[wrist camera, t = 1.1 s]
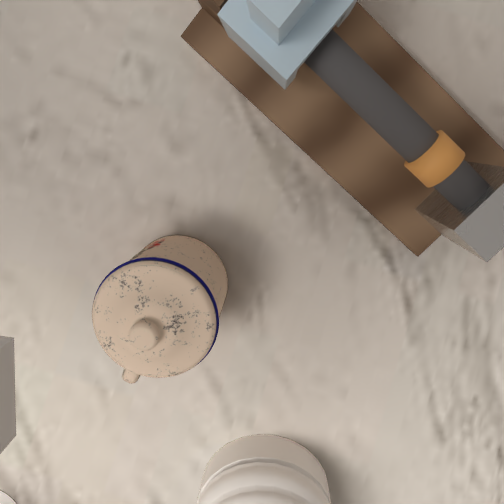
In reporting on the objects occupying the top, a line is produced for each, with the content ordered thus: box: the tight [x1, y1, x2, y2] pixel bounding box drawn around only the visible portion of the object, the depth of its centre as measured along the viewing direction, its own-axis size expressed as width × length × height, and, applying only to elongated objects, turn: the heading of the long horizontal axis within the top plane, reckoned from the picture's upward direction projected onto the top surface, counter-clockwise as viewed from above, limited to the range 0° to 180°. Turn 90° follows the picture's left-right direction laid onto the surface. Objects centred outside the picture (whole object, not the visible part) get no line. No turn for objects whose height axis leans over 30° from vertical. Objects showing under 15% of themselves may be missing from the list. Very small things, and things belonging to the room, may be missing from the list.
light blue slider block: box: [217, 0, 357, 90], centre depth 24 cm, size 5×6×10 cm
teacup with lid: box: [92, 235, 228, 384], centre depth 34 cm, size 12×9×12 cm
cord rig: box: [181, 0, 504, 262], centre depth 30 cm, size 25×10×10 cm, turn 49°
